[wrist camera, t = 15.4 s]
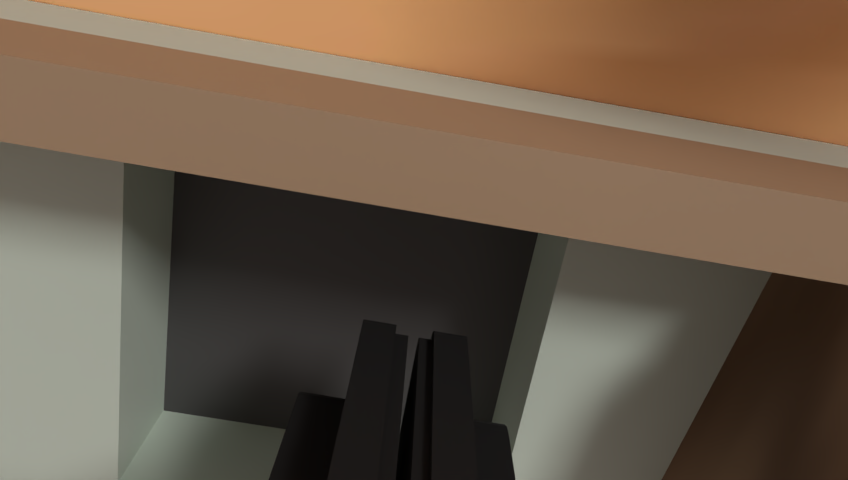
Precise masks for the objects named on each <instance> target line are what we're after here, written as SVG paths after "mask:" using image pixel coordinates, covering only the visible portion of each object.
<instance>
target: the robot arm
mask: <svg viewBox="0 0 848 480" xmlns="http://www.w3.org/2000/svg"><path fill="white" fill-rule="evenodd" d="M396 326H397V325H395V324H389V323H383V322H377V321H371V320H365V319H363V323H362V327H361V332H360V336H359V341H358V345H357V349H356V354H355V358H354V363H353V367H352V372H351V376H350V380H349V385H348V389H347V394H346V398H345V399H343V398H337V397H331V396H325V395H319V394H312V393H306V392H299V393H298V396H297V398H296V401H295V404H294V407H293V410H292V413H291V416H290V419H289V421H288V424H287V427H286V430H285V433H284V436H283V439H282V442H281V445H280V448H279V451H278V454H277V457H276V459H275V462H274V465H273V468H272V471H271V474H270V477H269V480H515V473H514V466H513V460H512V453H511V446H510V440H509V433H508V429H507V426H506V425H505V424H499V423H493V422H486V421H480V420H474V419H473V407H472V394H471V380H470V367H469V354H468V340H467V336H462V335H456V334H450V333H444V332H438V331H433V333H432V336H431V339H425V338H419V339H418V342H417V347H416V352H415V357H414V363H413V368H412V373H411V378H410V383H409V388H408V394H407V399H406V404H405V409H404V414H403V419H402V425H401V414H402V403H403V391H404V380H405V369H406V358H407V347H408V336H407V335H401V334H396ZM400 425H401V430H400Z"/></svg>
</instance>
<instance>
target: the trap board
mask: <svg viewBox="0 0 848 480" xmlns="http://www.w3.org/2000/svg"><path fill="white" fill-rule="evenodd" d="M772 272H773V273H779V274H785V275H791V276H797V277H803V278H808V279H814V280H820V281H826V282H832V283H838V284H844V285H848V147H847V146H841V145H836V144H830V143H825V142H819V141H813V140H808V139H802V138H797V137H791V136H785V135H780V134H774V133H769V132H763V131H757V130H752V129H746V128H741V127H735V126H729V125H724V124H718V123H712V122H707V121H701V120H696V119H690V118H684V117H679V116H673V115H668V114H662V113H656V112H651V111H645V110H640V109H634V108H628V107H623V106H617V105H611V104H606V103H600V102H595V101H589V100H583V99H578V98H572V97H567V96H561V95H555V94H550V93H544V92H539V91H533V90H527V89H522V88H516V87H511V86H505V85H499V84H494V83H488V82H482V81H477V80H471V79H466V78H460V77H454V76H449V75H443V74H438V73H432V72H426V71H421V70H415V69H410V68H404V67H398V66H393V65H387V64H382V63H376V62H370V61H365V60H359V59H353V58H348V57H342V56H337V55H331V54H325V53H320V52H314V51H309V50H303V49H297V48H292V47H286V46H281V45H275V44H269V43H264V42H258V41H253V40H247V39H241V38H236V37H230V36H224V35H219V34H213V33H208V32H202V31H196V30H191V29H185V28H180V27H174V26H168V25H163V24H157V23H152V22H146V21H140V20H135V19H129V18H124V17H118V16H112V15H107V14H101V13H95V12H90V11H84V10H79V9H73V8H67V7H62V6H56V5H51V4H45V3H39V2H34V1H28V0H0V480H269V477H270V474H271V471H272V468H273V465H274V462H275V459H276V457H277V454H278V451H279V448H280V445H281V442H282V439H283V436H284V433H285V430H286V427H287V424H288V421H289V419H290V416H291V413H292V410H293V407H294V404H295V401H296V398H297V396H298V393H299V392H306V393H312V394H319V395H325V396H331V397H337V398H343V399H345V398H346V394H347V389H348V385H349V380H350V376H351V372H352V367H353V363H354V358H355V354H356V349H357V345H358V341H359V336H360V332H361V327H362V323H363V319H365V320H371V321H377V322H383V323H389V324H395V325H397V326H396V334H401V335H407V336H408V347H407V358H406V369H405V380H404V391H403V403H402V414H401V425H402V419H403V414H404V409H405V404H406V399H407V394H408V388H409V383H410V378H411V373H412V368H413V363H414V357H415V352H416V347H417V342H418V339H419V338H425V339H431V336H432V333H433V331H438V332H444V333H450V334H456V335H462V336H467V340H468V354H469V367H470V380H471V394H472V407H473V419H474V420H480V421H486V422H493V423H499V424H505V425H506V426H507V429H508V433H509V440H510V446H511V453H512V460H513V466H514V473H515V480H662V478H663V476H664V474H665V472H666V470H667V469H668V467H669V465H670V463H671V461H672V459H673V457H674V455H675V454H676V452H677V450H678V448H679V446H680V444H681V442H682V440H683V439H684V437H685V435H686V433H687V431H688V429H689V427H690V425H691V424H692V422H693V420H694V418H695V416H696V414H697V412H698V410H699V409H700V407H701V405H702V403H703V401H704V399H705V397H706V395H707V394H708V392H709V390H710V388H711V386H712V384H713V382H714V380H715V379H716V377H717V375H718V373H719V371H720V369H721V367H722V365H723V364H724V362H725V360H726V358H727V356H728V354H729V352H730V350H731V349H732V347H733V345H734V343H735V341H736V339H737V337H738V335H739V334H740V332H741V330H742V328H743V326H744V324H745V322H746V321H747V319H748V317H749V315H750V313H751V311H752V309H753V307H754V306H755V304H756V302H757V300H758V298H759V296H760V294H761V292H762V291H763V289H764V287H765V285H766V283H767V281H768V279H769V277H770V276H771V274H772ZM401 425H400V430H401Z"/></svg>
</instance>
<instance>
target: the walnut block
mask: <svg viewBox="0 0 848 480" xmlns="http://www.w3.org/2000/svg"><path fill="white" fill-rule="evenodd" d="M662 480H848V285H844V284H838V283H832V282H826V281H820V280H814V279H808V278H803V277H797V276H791V275H785V274H779V273H773V272H772V274H771V276H770V277H769V279H768V281H767V283H766V285H765V287H764V289H763V291H762V292H761V294H760V296H759V298H758V300H757V302H756V304H755V306H754V307H753V309H752V311H751V313H750V315H749V317H748V319H747V321H746V322H745V324H744V326H743V328H742V330H741V332H740V334H739V335H738V337H737V339H736V341H735V343H734V345H733V347H732V349H731V350H730V352H729V354H728V356H727V358H726V360H725V362H724V364H723V365H722V367H721V369H720V371H719V373H718V375H717V377H716V379H715V380H714V382H713V384H712V386H711V388H710V390H709V392H708V394H707V395H706V397H705V399H704V401H703V403H702V405H701V407H700V409H699V410H698V412H697V414H696V416H695V418H694V420H693V422H692V424H691V425H690V427H689V429H688V431H687V433H686V435H685V437H684V439H683V440H682V442H681V444H680V446H679V448H678V450H677V452H676V454H675V455H674V457H673V459H672V461H671V463H670V465H669V467H668V469H667V470H666V472H665V474H664V476H663V478H662Z"/></svg>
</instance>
